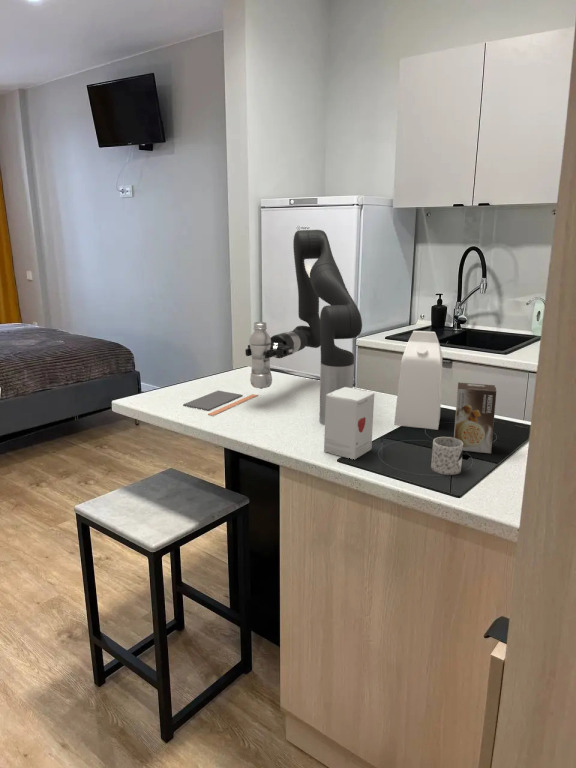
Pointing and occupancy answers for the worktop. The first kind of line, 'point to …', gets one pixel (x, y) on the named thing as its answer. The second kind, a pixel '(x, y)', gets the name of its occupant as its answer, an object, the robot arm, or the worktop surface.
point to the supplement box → (348, 422)
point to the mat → (213, 400)
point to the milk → (420, 382)
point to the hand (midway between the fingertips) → (256, 353)
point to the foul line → (232, 405)
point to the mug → (447, 455)
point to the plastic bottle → (260, 356)
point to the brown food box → (475, 416)
